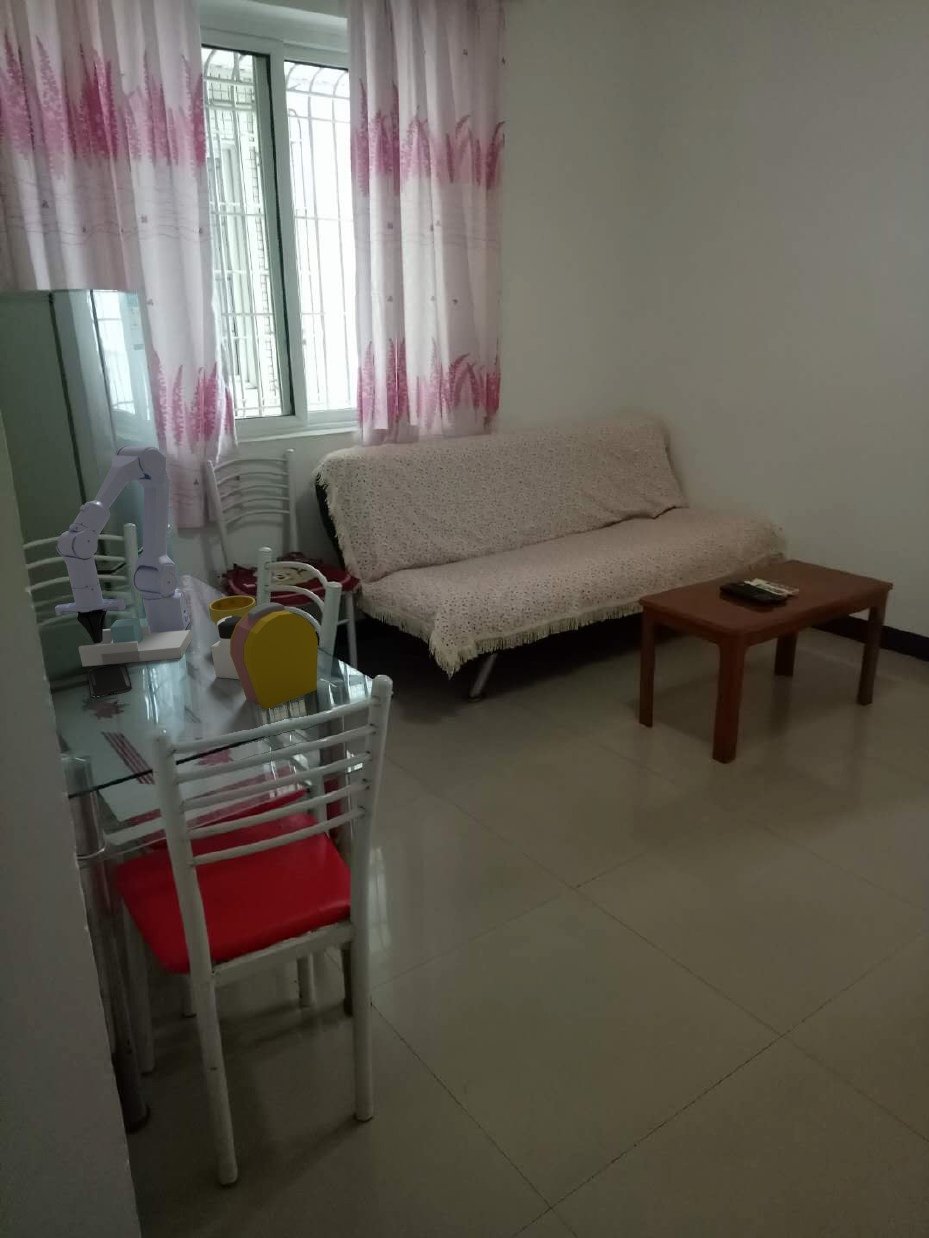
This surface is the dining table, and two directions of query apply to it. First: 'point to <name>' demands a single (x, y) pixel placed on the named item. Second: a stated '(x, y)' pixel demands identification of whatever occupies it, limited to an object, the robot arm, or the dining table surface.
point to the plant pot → (230, 607)
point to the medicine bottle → (224, 648)
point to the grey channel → (136, 648)
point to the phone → (109, 680)
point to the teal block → (126, 630)
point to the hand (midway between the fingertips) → (98, 641)
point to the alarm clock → (274, 655)
